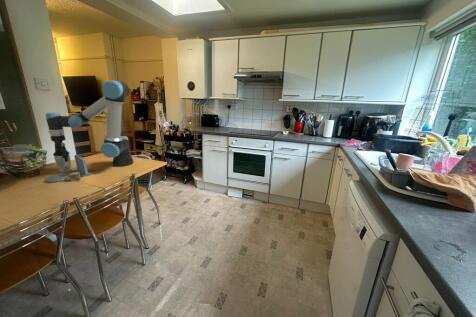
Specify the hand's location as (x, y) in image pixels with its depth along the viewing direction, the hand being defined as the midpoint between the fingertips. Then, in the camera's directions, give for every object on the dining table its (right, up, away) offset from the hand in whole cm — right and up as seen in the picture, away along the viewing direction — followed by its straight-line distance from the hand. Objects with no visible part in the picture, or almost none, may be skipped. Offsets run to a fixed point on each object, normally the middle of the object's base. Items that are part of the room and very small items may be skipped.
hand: (63, 163), depth 146 cm
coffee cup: (0, -5, +1) cm, 5 cm away
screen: (+16, -7, -3) cm, 18 cm away
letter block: (+20, -10, -13) cm, 26 cm away
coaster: (+8, -10, -14) cm, 19 cm away
